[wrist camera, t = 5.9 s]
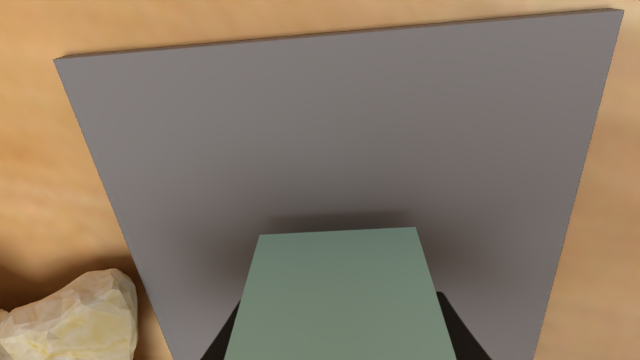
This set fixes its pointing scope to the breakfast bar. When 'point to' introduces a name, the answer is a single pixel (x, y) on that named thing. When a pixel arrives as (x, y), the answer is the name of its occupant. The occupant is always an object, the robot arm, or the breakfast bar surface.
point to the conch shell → (75, 322)
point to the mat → (351, 157)
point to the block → (340, 299)
